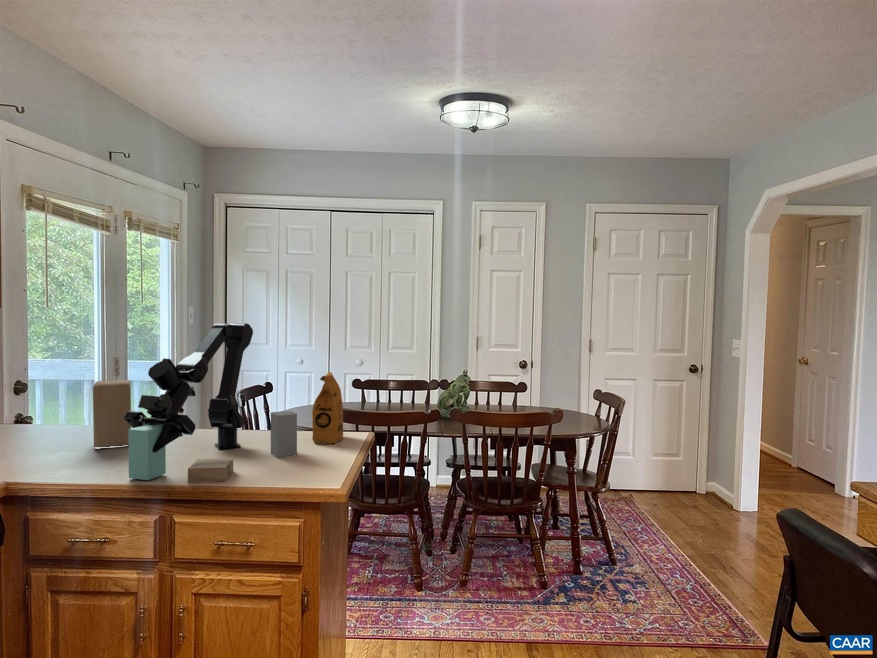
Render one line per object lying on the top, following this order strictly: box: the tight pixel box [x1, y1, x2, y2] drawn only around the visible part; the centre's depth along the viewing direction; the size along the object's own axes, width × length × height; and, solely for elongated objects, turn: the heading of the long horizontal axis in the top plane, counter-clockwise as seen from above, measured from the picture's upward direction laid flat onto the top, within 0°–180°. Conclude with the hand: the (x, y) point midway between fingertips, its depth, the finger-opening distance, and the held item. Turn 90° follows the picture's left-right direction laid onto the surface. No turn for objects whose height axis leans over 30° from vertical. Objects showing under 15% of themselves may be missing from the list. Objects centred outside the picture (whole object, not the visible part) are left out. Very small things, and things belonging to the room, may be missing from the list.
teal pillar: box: [128, 425, 167, 481], centre depth 148 cm, size 6×6×12 cm
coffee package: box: [311, 371, 344, 445], centre depth 189 cm, size 10×12×22 cm
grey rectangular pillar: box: [270, 410, 298, 459], centre depth 172 cm, size 6×6×12 cm
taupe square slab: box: [187, 457, 234, 484], centre depth 149 cm, size 9×9×4 cm
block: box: [92, 379, 132, 448], centre depth 180 cm, size 10×10×20 cm
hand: (143, 450), depth 147 cm, fingers closed on teal pillar, 6 cm apart
